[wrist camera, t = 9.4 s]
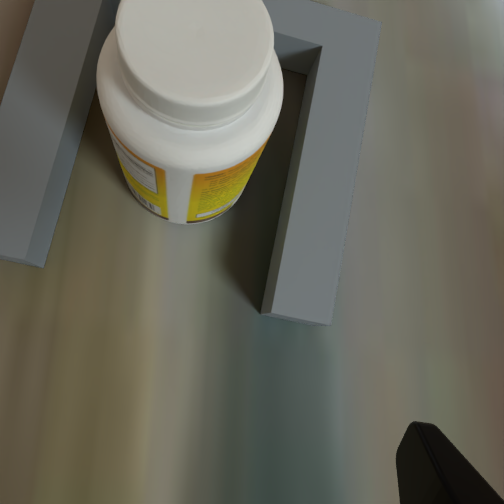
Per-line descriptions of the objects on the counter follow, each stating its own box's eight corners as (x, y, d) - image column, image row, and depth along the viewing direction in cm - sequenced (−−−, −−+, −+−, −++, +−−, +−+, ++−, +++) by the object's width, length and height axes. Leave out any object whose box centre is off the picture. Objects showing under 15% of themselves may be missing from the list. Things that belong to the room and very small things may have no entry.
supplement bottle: (257, 130, 22) (326, -30, 12) (230, 241, 21) (282, 164, 11) (141, 96, 22) (116, -102, 12) (108, 209, 21) (48, 97, 11)
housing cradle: (313, 325, 21) (337, 325, 18) (-18, 255, 19) (-57, 240, 16) (361, 49, 24) (390, 6, 21) (73, -34, 22) (56, -96, 19)
